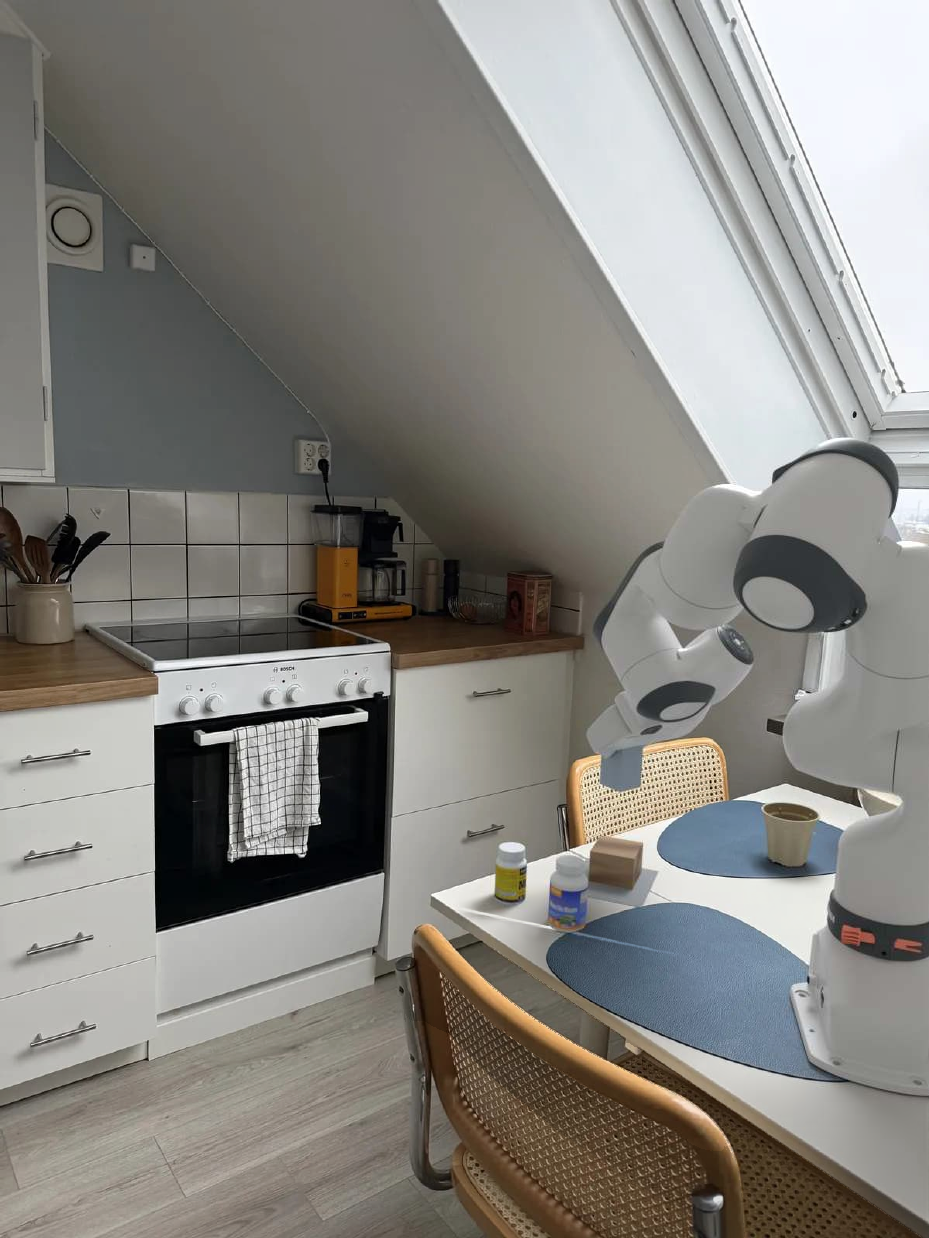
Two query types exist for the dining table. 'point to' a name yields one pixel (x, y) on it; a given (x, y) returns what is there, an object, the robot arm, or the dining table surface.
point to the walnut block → (616, 862)
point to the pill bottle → (568, 895)
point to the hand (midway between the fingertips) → (619, 751)
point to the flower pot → (789, 831)
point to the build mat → (622, 889)
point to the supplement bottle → (510, 874)
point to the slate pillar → (622, 769)
